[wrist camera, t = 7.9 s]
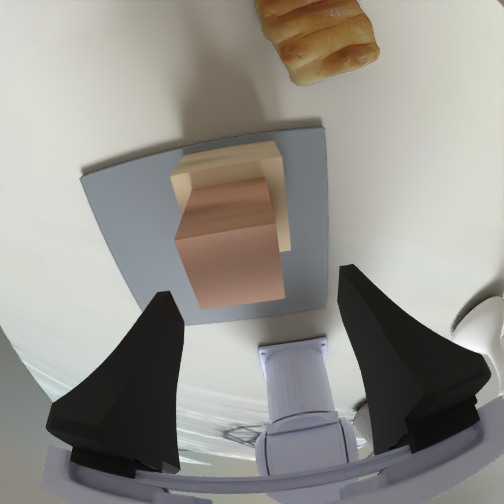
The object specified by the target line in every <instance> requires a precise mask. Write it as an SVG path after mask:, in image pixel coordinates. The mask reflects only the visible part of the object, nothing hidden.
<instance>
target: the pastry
mask: <svg viewBox="0 0 504 504" xmlns="http://www.w3.org/2000/svg"><path fill="white" fill-rule="evenodd" d="M254 3H255V7H256V10H257V12H258V14H259V16H260V19H261V23H262V32H263V34H264V36H265V37H266V38H267V39H269V40H270V41H271V42H272V43H273V45H274V47H275V49H276V51H277V52H278V54H279V56H280V58H281V60H282V62H283V63H284V65H285V66H286V68H287V69H288V71H289V75H290V79H291V81H292V82H294V83H295V84H296V85H300V86H308V85H312V84H315V83H319V82H321V81H322V80H324V79H325V78H327V77H331V76H334V75H337V74H340V73H345V72H348V71H352V70H356V69H358V68H361V67H363V66H366V65H368V64H370V63H372V62H373V61H376V60H377V58H378V56H379V55H380V49H379V47H378V46H377V44H376V41H375V37H374V32H373V28H372V24H371V22H370V20H369V18H368V17H367V16H366V14H365V13H364V12H363V10H362V9H361V8H360V5H359V4H358V2H357V1H356V0H254Z"/></svg>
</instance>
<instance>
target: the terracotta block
mask: <svg viewBox="0 0 504 504" xmlns="http://www.w3.org/2000/svg"><path fill="white" fill-rule="evenodd" d="M174 242H175V245H176V248H177V250H178V253H179V256H180V258H181V261H182V263H183V266H184V269H185V271H186V274H187V276H188V279H189V281H190V284H191V286H192V289H193V291H194V294H195V296H196V298H197V301H198V303H199V306H200V308H201V310H204V309H212V308H220V307H228V306H235V305H243V304H250V303H257V302H264V301H270V300H277V299H283V298H285V291H284V283H283V274H282V266H281V259H280V251H279V243H278V236H277V228H276V222H275V218H274V213H273V209H272V204H271V200H270V196H269V192H268V187H267V183H266V179H265V177H260V178H254V179H248V180H242V181H236V182H230V183H225V184H219V185H214V186H209V187H204V188H199V189H194V190H192V191H191V194H190V196H189V199H188V202H187V204H186V207H185V210H184V213H183V215H182V218H181V221H180V224H179V227H178V230H177V233H176V236H175V239H174Z"/></svg>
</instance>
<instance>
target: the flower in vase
mask: <svg viewBox="0 0 504 504" xmlns="http://www.w3.org/2000/svg"><path fill="white" fill-rule="evenodd" d="M503 323H504V299H503V298H502V297H498V296H495V297H491V298H489V299H487V300H485V301H483V302H482V303H480V304H479V305H477V306H476V307H475V308H474V309H472V310H471V311H470V312H469V313H468V314H467V315H466V316H465V317H464V318H463V320H462V321H461V322H460V323H459V325H458V326H457V327H456V329H455V331H454V333H453V335H452V339H451V341H452V342H454V343H456V344H458V345H460V346H462V347H464V348H466V349H469V350H471V351H474V352H483V353H485V354H487V355H488V356H489V357H490V359H491V360H492V362H493V364H494V366H495V369H496V371H497V374H498V378H499V394H498V396H501V395H503V394H504V353H503V350H502V348H501V346H500V334H501V330H502V326H503Z"/></svg>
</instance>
